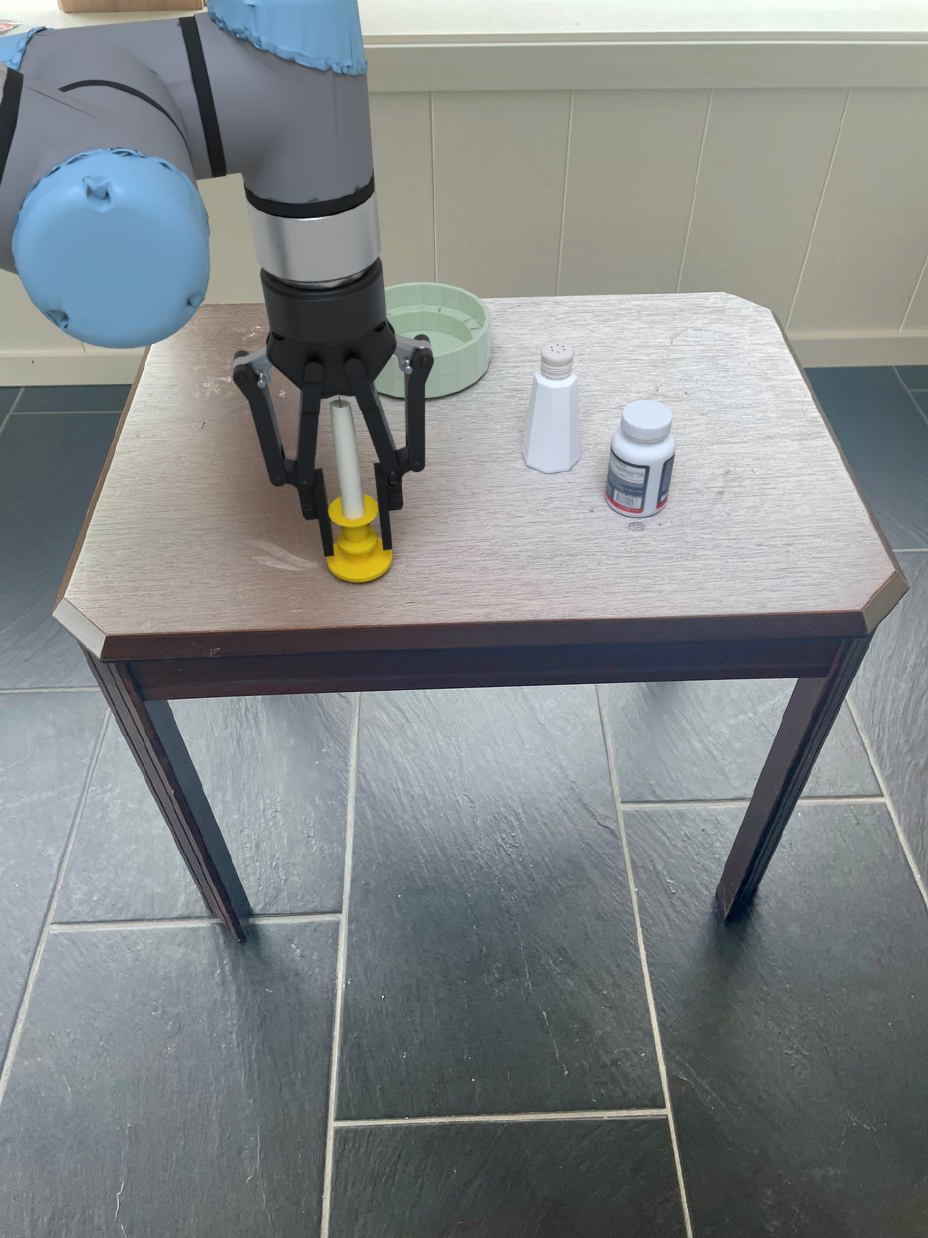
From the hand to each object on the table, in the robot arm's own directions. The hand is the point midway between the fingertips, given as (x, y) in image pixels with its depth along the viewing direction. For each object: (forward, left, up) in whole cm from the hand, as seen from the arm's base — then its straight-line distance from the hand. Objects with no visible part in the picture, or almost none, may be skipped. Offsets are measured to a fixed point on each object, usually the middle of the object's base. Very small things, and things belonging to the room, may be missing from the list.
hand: (357, 540), depth 76 cm
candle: (0, 0, -2) cm, 2 cm away
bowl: (+8, +28, -3) cm, 30 cm away
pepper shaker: (+18, +11, -3) cm, 22 cm away
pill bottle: (+24, +4, -3) cm, 25 cm away
